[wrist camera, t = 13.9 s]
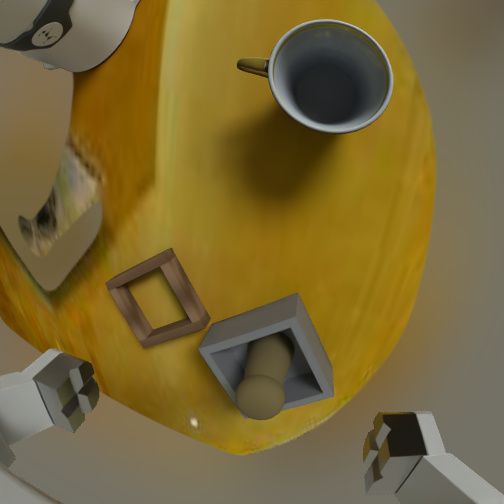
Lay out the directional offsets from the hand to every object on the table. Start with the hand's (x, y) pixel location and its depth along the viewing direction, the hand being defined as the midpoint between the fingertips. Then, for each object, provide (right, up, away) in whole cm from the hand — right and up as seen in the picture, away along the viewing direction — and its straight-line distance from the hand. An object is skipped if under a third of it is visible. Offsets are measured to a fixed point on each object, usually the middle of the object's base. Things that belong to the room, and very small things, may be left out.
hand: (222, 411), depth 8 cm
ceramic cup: (+7, +21, +23) cm, 32 cm away
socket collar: (-11, -2, +33) cm, 35 cm away
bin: (+4, -8, +33) cm, 34 cm away
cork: (+3, -8, +32) cm, 33 cm away
